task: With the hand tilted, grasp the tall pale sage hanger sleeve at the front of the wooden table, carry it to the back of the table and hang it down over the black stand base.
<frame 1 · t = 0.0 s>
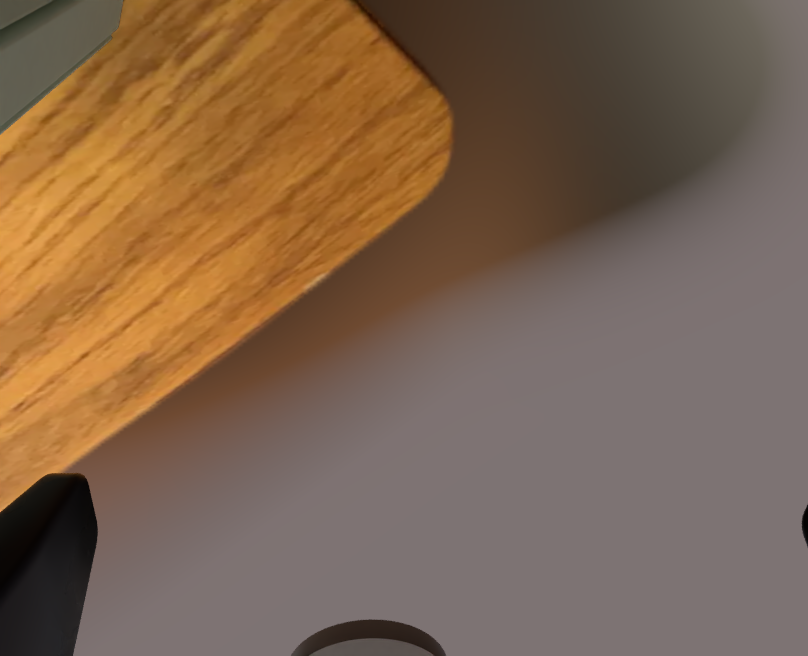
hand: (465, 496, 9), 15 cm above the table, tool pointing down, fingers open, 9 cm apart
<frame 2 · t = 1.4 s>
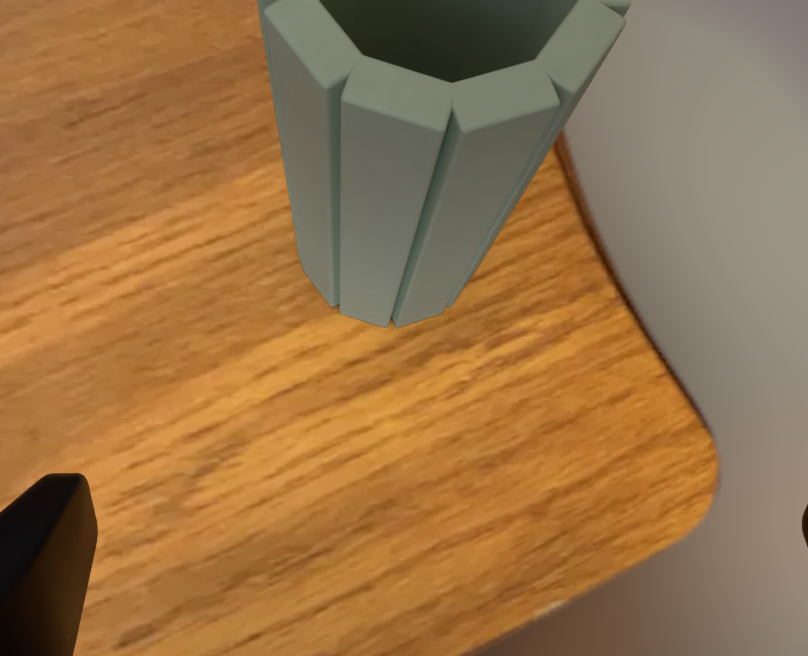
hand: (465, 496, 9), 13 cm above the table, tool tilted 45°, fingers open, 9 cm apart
hanger sleeve: (389, 238, 24), on the table
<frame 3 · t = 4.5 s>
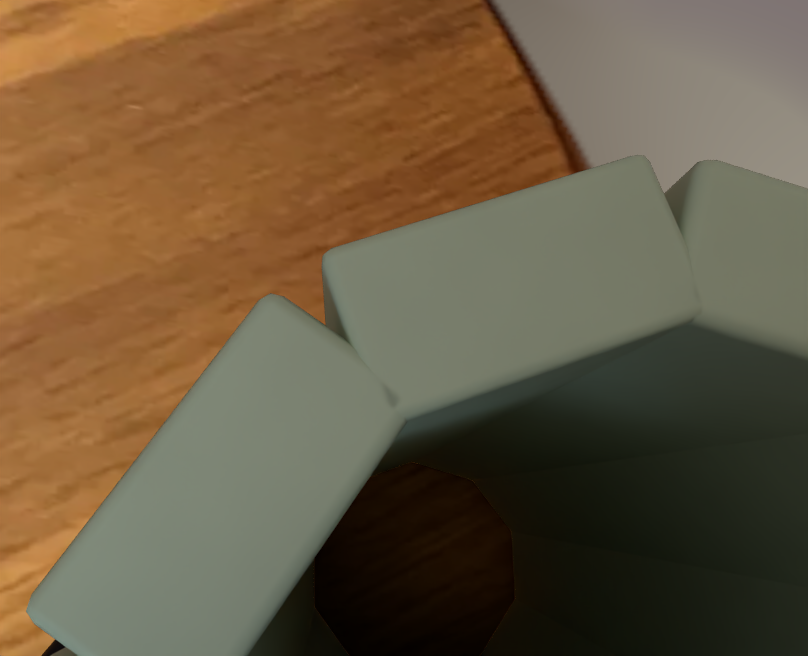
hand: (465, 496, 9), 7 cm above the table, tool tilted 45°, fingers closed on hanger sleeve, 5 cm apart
hanger sleeve: (414, 568, 15), on the table, touching gripper
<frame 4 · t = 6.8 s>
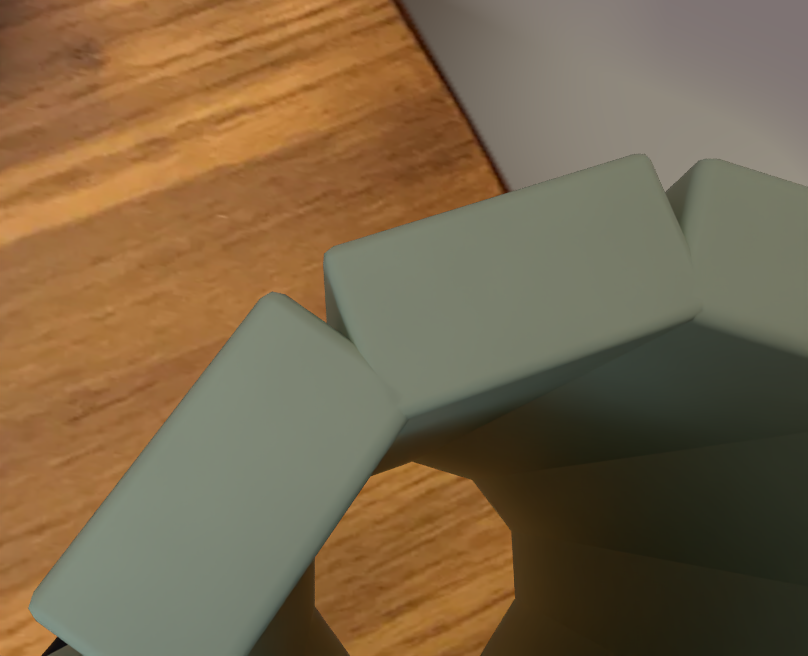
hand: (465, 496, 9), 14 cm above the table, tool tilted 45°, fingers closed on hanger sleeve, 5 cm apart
hanger sleeve: (414, 567, 15), point 7 cm above the table, touching gripper
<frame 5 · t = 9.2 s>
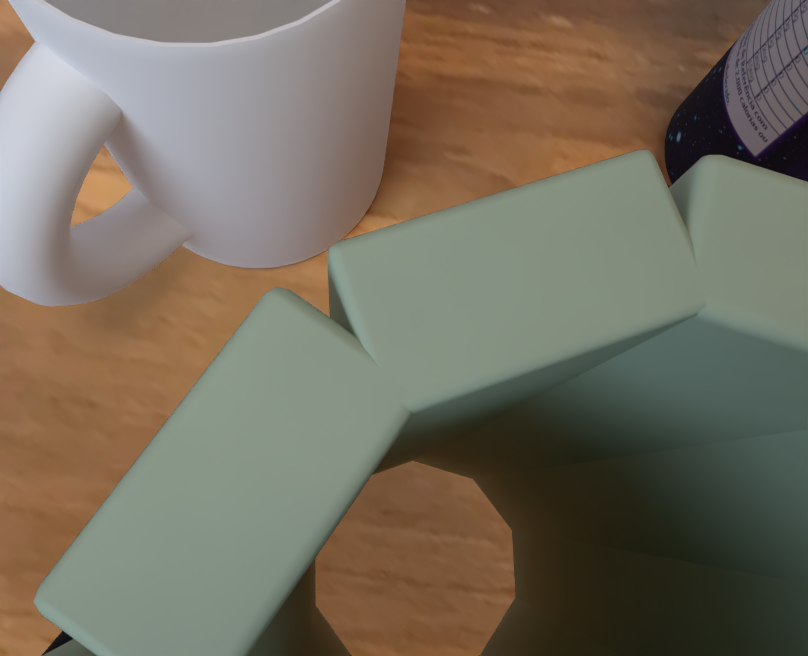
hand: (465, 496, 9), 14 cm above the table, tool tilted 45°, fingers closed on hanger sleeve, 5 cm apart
hanger sleeve: (415, 566, 15), point 7 cm above the table, touching gripper
beverage can: (731, 173, 26), on the table
mug: (218, 196, 25), on the table
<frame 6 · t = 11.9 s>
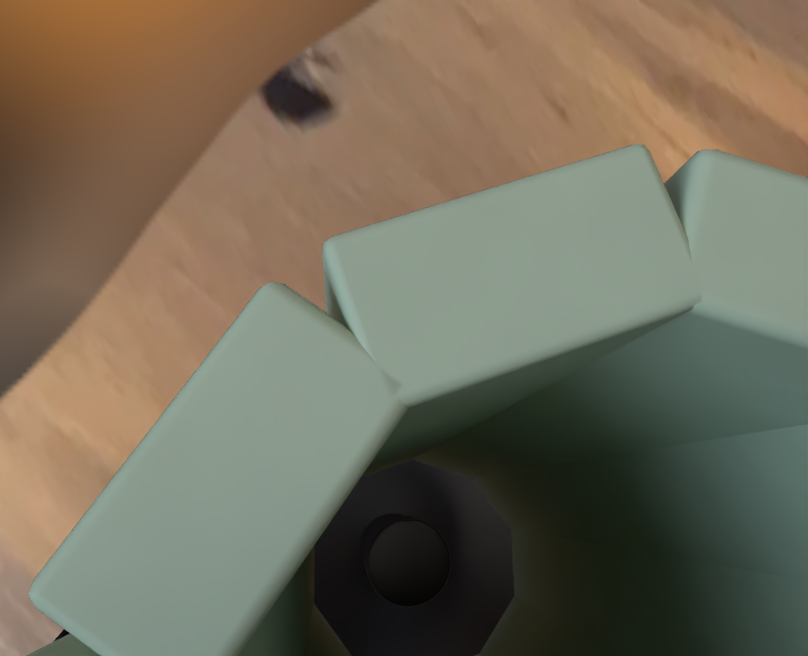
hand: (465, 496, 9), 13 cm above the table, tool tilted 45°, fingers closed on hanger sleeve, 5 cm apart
hanger sleeve: (414, 565, 15), point 7 cm above the table, touching gripper
black stand base: (389, 544, 22), on the table
when the fingers open (8 cm above the table, at t = 14.1 s): hanger sleeve stays where it is, resting on black stand base.
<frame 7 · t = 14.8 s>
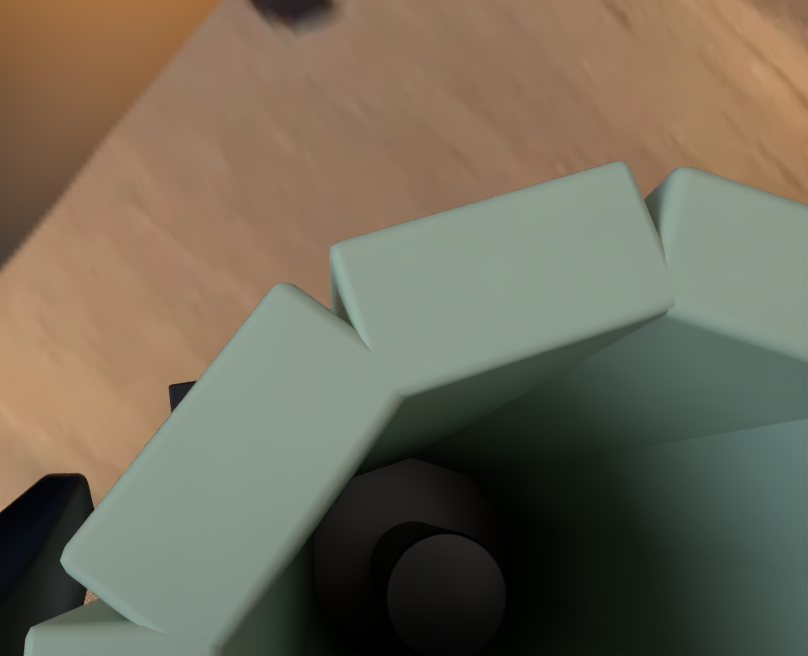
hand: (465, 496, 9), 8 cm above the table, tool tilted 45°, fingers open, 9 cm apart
hanger sleeve: (412, 561, 16), point 1 cm above the table, touching black stand base
black stand base: (408, 561, 17), on the table
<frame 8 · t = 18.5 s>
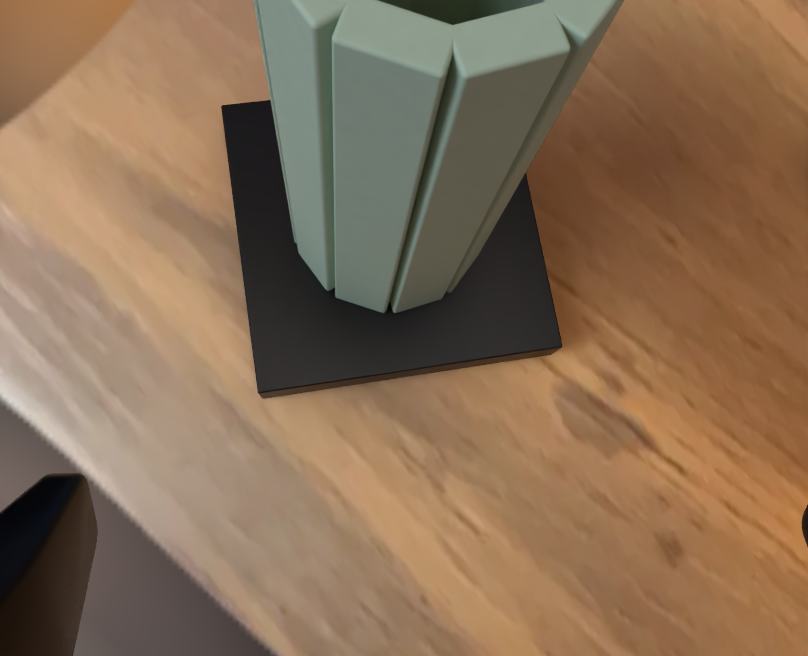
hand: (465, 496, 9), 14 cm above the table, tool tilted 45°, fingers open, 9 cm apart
hanger sleeve: (388, 220, 23), point 1 cm above the table, touching black stand base
black stand base: (386, 237, 24), on the table
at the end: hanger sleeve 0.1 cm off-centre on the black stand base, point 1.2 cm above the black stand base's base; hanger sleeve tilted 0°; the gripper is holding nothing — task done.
